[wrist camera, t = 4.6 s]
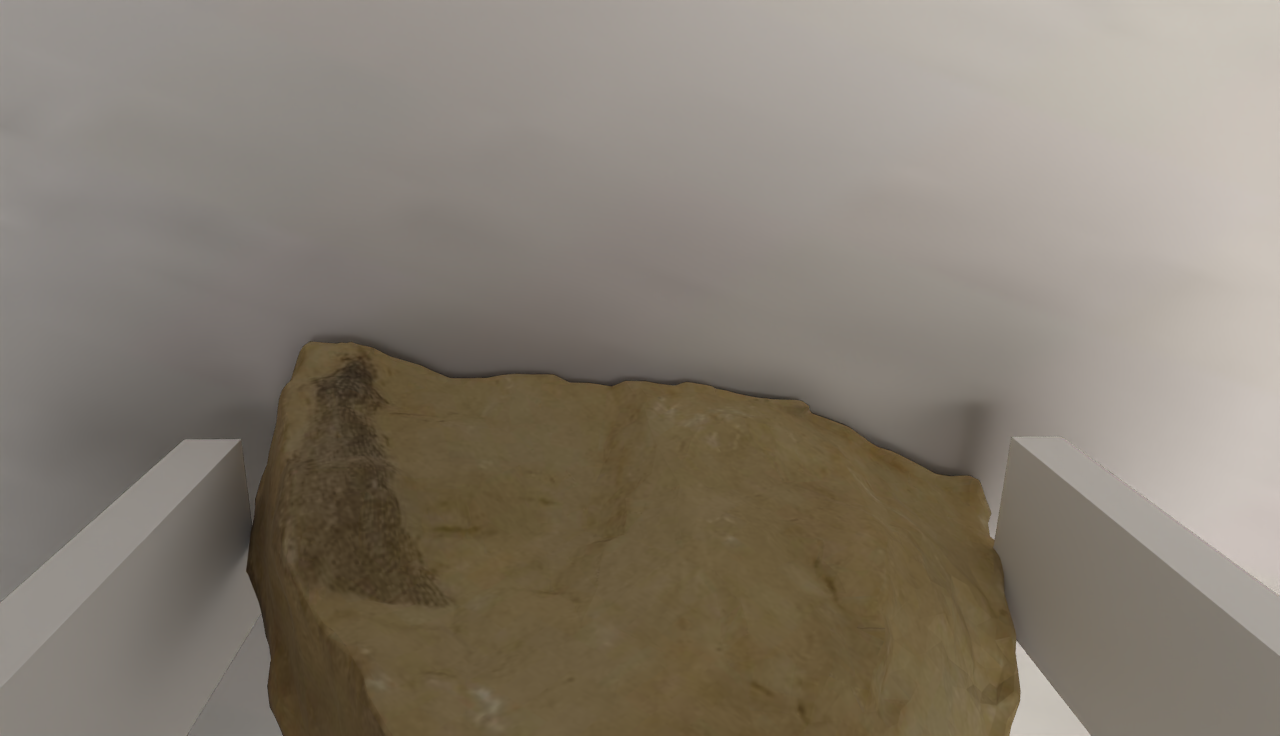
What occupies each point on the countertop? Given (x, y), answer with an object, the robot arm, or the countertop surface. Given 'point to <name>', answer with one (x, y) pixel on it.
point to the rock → (612, 564)
